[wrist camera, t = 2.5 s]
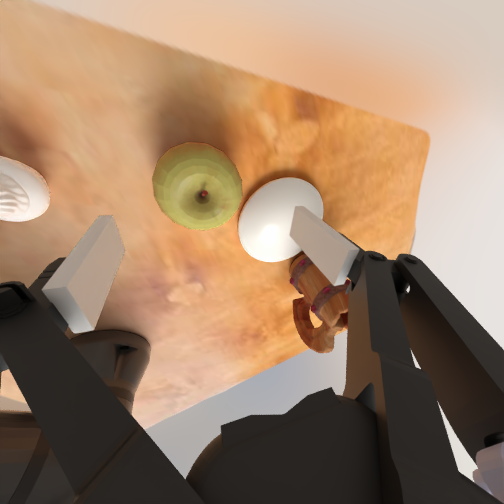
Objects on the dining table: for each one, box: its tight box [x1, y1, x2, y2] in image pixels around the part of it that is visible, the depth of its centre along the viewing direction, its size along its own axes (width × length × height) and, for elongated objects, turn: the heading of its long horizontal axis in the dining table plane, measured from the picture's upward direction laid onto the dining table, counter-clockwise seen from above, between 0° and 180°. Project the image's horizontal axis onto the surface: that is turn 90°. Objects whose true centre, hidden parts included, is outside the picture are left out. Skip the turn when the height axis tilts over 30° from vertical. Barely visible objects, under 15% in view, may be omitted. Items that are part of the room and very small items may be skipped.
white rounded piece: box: [0, 156, 51, 222], centre depth 18 cm, size 6×6×7 cm
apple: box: [152, 142, 243, 230], centre depth 23 cm, size 10×10×8 cm
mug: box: [290, 254, 351, 353], centre depth 36 cm, size 15×8×15 cm, turn 157°
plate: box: [238, 177, 323, 262], centre depth 33 cm, size 15×15×1 cm
